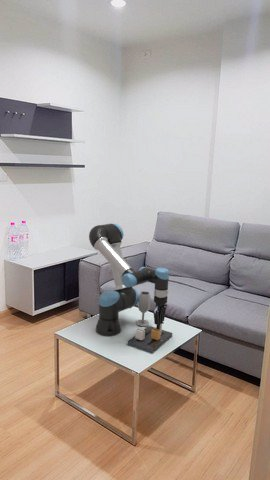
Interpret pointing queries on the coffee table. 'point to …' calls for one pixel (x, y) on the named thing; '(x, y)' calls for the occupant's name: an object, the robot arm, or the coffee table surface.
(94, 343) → the coffee table surface
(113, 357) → the coffee table surface
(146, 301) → the wineglass
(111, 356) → the coffee table surface
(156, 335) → the block
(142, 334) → the fader
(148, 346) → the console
